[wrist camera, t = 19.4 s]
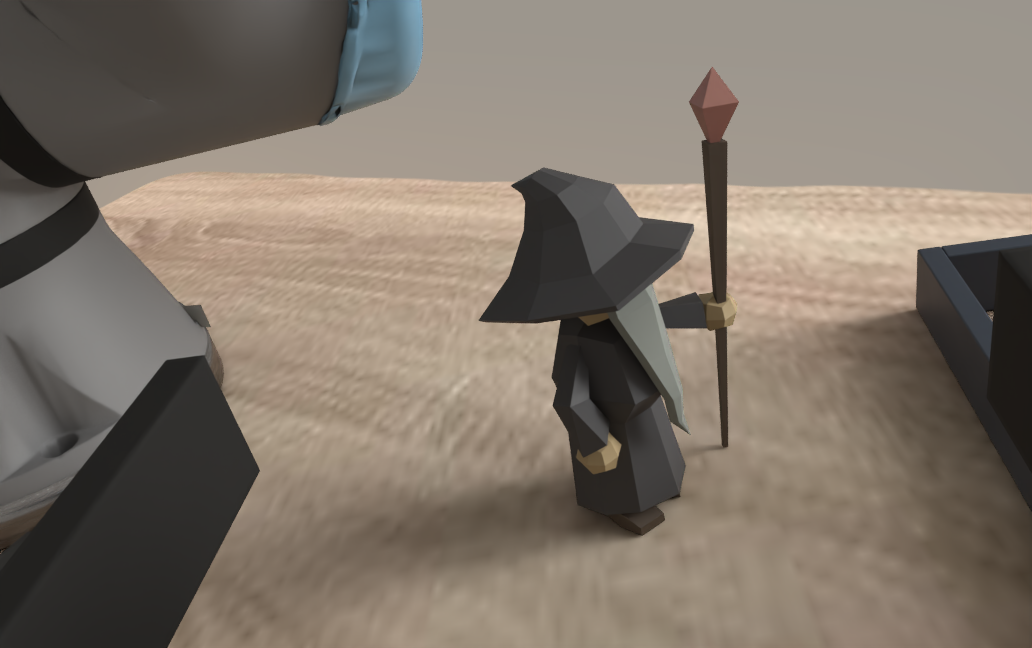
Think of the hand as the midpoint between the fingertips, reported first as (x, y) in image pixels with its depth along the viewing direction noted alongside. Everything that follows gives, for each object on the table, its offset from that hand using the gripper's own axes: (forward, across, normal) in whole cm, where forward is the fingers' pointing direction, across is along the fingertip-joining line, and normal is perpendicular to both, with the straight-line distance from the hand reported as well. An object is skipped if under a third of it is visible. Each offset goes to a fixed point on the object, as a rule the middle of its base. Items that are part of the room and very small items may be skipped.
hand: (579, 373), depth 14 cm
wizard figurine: (+9, 0, -11) cm, 14 cm away
